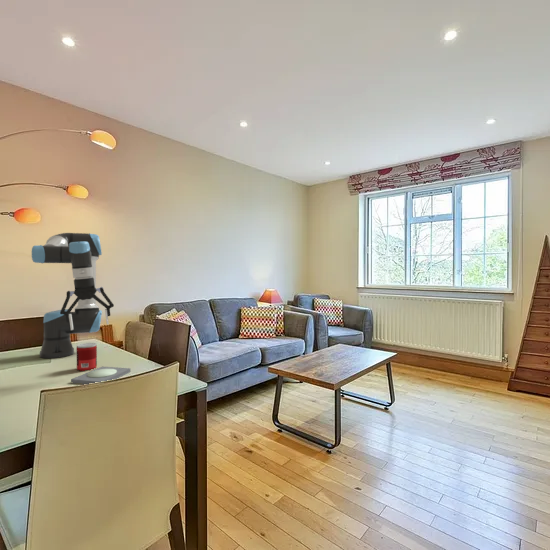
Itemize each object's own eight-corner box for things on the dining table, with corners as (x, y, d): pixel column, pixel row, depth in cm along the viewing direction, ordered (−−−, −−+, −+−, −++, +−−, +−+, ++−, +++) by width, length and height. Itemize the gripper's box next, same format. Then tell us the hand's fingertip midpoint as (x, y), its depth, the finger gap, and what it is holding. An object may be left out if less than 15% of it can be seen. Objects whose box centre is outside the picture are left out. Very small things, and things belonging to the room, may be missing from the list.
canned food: (100, 367, 155) (100, 343, 155) (82, 372, 148) (82, 347, 148) (90, 365, 159) (90, 341, 159) (73, 369, 152) (73, 345, 152)
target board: (102, 369, 152) (102, 365, 152) (130, 371, 149) (130, 367, 149) (71, 383, 134) (71, 378, 134) (102, 385, 132) (102, 380, 132)
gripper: (47, 282, 136) (55, 333, 138) (116, 275, 147) (122, 323, 149) (50, 280, 142) (57, 330, 144) (115, 274, 153) (121, 319, 155)
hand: (90, 326), depth 147 cm, fingers open, 13 cm apart
